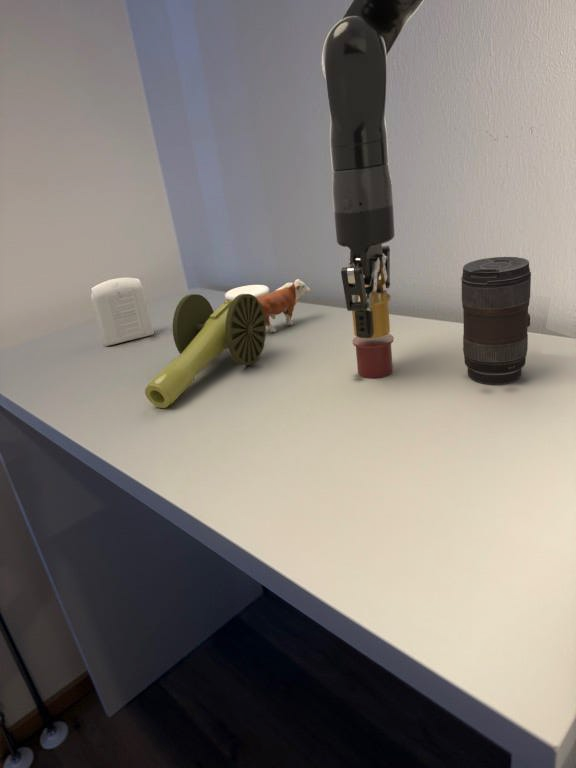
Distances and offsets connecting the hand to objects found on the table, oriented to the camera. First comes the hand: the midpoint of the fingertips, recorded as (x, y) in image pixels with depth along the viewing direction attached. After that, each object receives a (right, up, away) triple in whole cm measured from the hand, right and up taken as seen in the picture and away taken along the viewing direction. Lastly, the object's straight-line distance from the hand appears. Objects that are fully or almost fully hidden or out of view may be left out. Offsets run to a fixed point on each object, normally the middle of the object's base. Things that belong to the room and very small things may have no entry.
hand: (372, 328), depth 76 cm
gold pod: (0, -1, 0) cm, 0 cm away
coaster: (-21, +10, +45) cm, 51 cm away
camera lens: (+16, -7, -3) cm, 17 cm away
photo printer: (-44, +1, +34) cm, 56 cm away
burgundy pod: (+1, -6, +3) cm, 7 cm away
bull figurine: (-13, +3, +28) cm, 31 cm away
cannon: (-25, -7, +10) cm, 28 cm away
